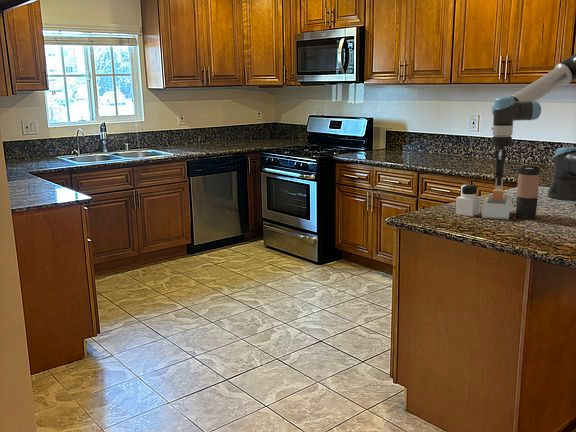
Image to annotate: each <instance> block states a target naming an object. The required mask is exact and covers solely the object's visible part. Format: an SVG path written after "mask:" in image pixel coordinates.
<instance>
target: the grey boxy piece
mask: <svg viewBox="0 0 576 432" xmlns="http://www.w3.org/2000/svg"><path fill="white" fill-rule="evenodd" d="M507 196H508V195H503V200H496V199H492V197H493V194H490V195H489V196H485V197H484V199H483V202H482V206H481V207H482V211H481V212H482V213H481V218H483V219H495V220H497V219H498V220H509V219H510V215H511V212H512V211H511V210H512V208H511V207H512V197H507Z"/></svg>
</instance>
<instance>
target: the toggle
mask: <svg viewBox="0 0 576 432" xmlns="http://www.w3.org/2000/svg"><path fill="white" fill-rule="evenodd" d="M504 192H505V191H504V189H502V190H501V189H495V188H494V189H493V190H492V199H496V200H503V197H504Z"/></svg>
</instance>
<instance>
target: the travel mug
mask: <svg viewBox="0 0 576 432" xmlns="http://www.w3.org/2000/svg"><path fill="white" fill-rule="evenodd" d="M539 183H540V167H539V166H535V165H534V166H531V165H530V166H529V165H527V166H526V165H524V166H522V167H521V166H519V167H518V176H517V189H516V206H515V208H516V209H515V217H516V219H519V220H525V221H527V220H528V221H531V220H532V221H533V220H536V216H537V208H538V198H539V186H540V185H539Z"/></svg>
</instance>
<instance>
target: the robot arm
mask: <svg viewBox="0 0 576 432" xmlns="http://www.w3.org/2000/svg"><path fill="white" fill-rule="evenodd" d="M573 81H576V53H575V54H572V55H571V56H569V57H567V58H566V59H563V60H562V61H561V62H559V63H557V64H556V65H555V66H554V68H553V69H552V70H550V71H549V72H547V73H545V74H544V75H542V76H541V77H540V78H538V79H536V80H535V81H533V82H532V83H530V84H528V85H526V86H525V87H523V88H522V89H520V90H518V91H517V92H516V93H514V94H512V95H510V96H500V97H498V96H497V97H496V98H495V100H494V102H493V104H492V106H491V114H492V116H493V122H492V123H493V127H491V131H492V135H493V136H492V137H491V138H492V139H491V145H492V146H494V147H497V149H496V150H495V155H496V156H495V162H496V168H495V175H494V176H493V178H495V184H494V185H495V187H494V189H501V190H503V187H504V186H503V184H504V183H503V182H504V178H505V176H506V175H505V174H504V167H505V161H506V155H507V149H506V148H505V147H511V145H512V143H513V142H512V141H513V137H512V135H513V133H514V132H513V128H514V122H515V121H532V120H533V121H535V120H537V119H538V118H539V117H540V116H541V113H542V106H541V104H540V103H539V102H538V100H540V99H542V98H543V97H545V96H546V95H548V94H550V93H551V92H553V91H554V90H555V89H558V88H559V87H561V86H562V85H565V84H566V85H568V84H570V83H571V82H573ZM547 197H548V198H551V199H555V200H563V201H576V146H573V147H572V146H570V147H558V148H556V149H555V154H554V162H553V177H552V182H551V183H550V186H549V189H548V190H547Z"/></svg>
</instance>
